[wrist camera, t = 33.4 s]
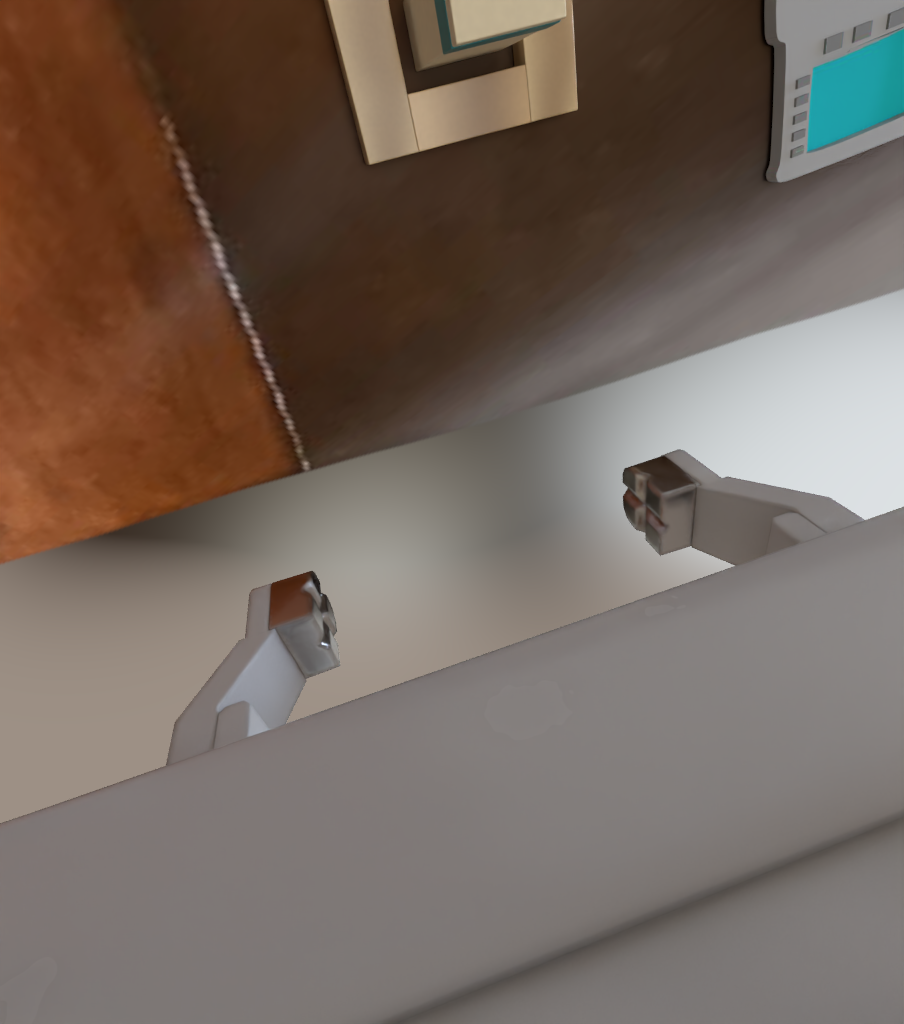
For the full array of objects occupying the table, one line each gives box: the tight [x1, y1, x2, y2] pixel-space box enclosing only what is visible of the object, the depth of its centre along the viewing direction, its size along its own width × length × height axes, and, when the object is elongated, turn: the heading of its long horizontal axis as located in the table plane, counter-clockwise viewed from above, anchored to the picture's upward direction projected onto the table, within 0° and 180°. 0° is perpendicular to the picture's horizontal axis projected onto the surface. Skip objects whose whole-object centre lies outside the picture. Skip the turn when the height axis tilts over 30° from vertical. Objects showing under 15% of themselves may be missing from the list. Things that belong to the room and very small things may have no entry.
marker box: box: [403, 0, 566, 72], centre depth 28 cm, size 6×3×10 cm, turn 102°
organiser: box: [324, 0, 578, 165], centre depth 31 cm, size 14×11×2 cm
